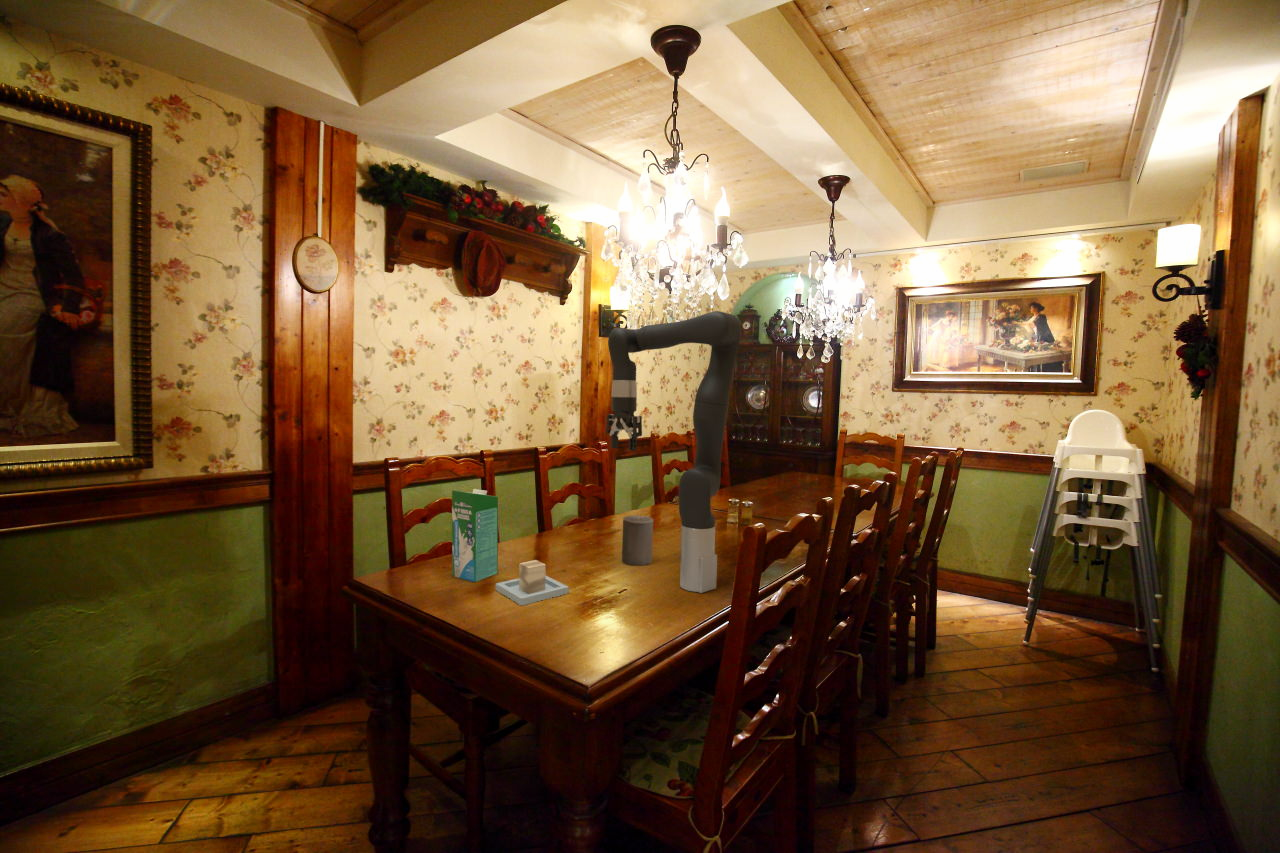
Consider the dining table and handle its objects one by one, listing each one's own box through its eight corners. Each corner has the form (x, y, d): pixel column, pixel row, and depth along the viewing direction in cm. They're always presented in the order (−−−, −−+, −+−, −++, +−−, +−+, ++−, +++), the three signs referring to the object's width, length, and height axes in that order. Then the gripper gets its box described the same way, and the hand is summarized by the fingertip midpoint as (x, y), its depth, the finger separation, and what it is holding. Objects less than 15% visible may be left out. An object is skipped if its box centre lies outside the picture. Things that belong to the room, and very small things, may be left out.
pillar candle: (617, 563, 178) (618, 516, 177) (627, 555, 188) (628, 510, 186) (647, 567, 175) (649, 519, 174) (655, 558, 185) (657, 512, 184)
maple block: (545, 590, 152) (545, 564, 152) (528, 594, 149) (528, 568, 149) (535, 585, 156) (535, 559, 156) (519, 589, 153) (519, 563, 152)
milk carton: (498, 573, 167) (498, 488, 165) (474, 582, 159) (474, 493, 158) (475, 568, 172) (475, 485, 170) (452, 576, 164) (451, 489, 162)
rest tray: (568, 593, 152) (568, 586, 152) (521, 605, 143) (521, 598, 143) (541, 579, 162) (541, 573, 162) (495, 590, 153) (495, 583, 153)
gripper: (649, 396, 168) (648, 451, 169) (619, 395, 179) (618, 447, 180) (629, 396, 164) (628, 452, 165) (599, 395, 174) (599, 448, 175)
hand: (623, 449), depth 172 cm, fingers open, 8 cm apart
